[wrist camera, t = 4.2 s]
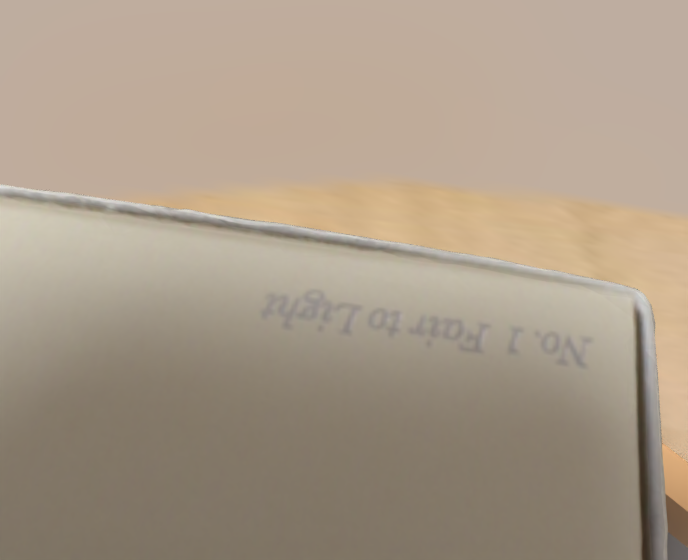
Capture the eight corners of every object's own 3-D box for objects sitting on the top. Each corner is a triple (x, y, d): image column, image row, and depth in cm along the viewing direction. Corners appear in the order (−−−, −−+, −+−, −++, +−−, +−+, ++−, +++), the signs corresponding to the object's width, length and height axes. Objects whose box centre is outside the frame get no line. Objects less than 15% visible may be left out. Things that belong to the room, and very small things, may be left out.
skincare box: (394, 379, 15) (693, 269, 3) (377, 531, 14) (751, 1152, 2) (198, 349, 15) (-183, 121, 3) (163, 500, 14) (-656, 1014, 2)
